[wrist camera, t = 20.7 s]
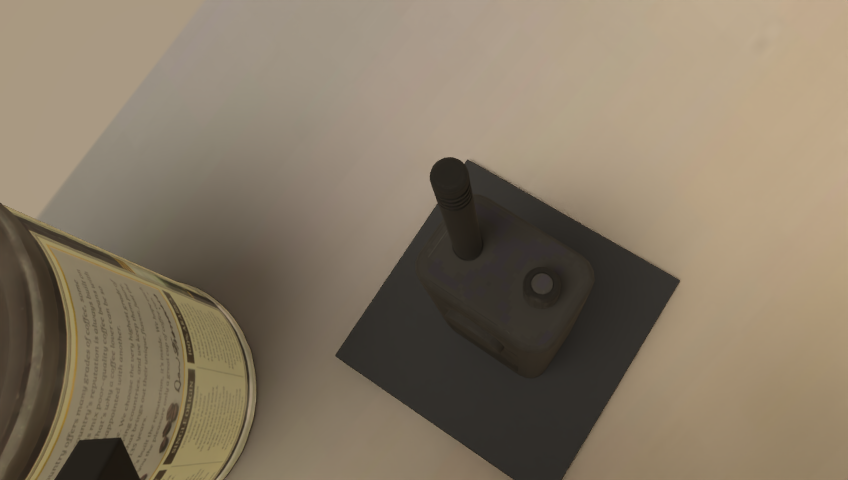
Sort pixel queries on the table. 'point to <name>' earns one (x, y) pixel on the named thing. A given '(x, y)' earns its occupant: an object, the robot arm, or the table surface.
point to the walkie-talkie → (500, 276)
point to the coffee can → (113, 361)
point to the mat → (491, 380)
